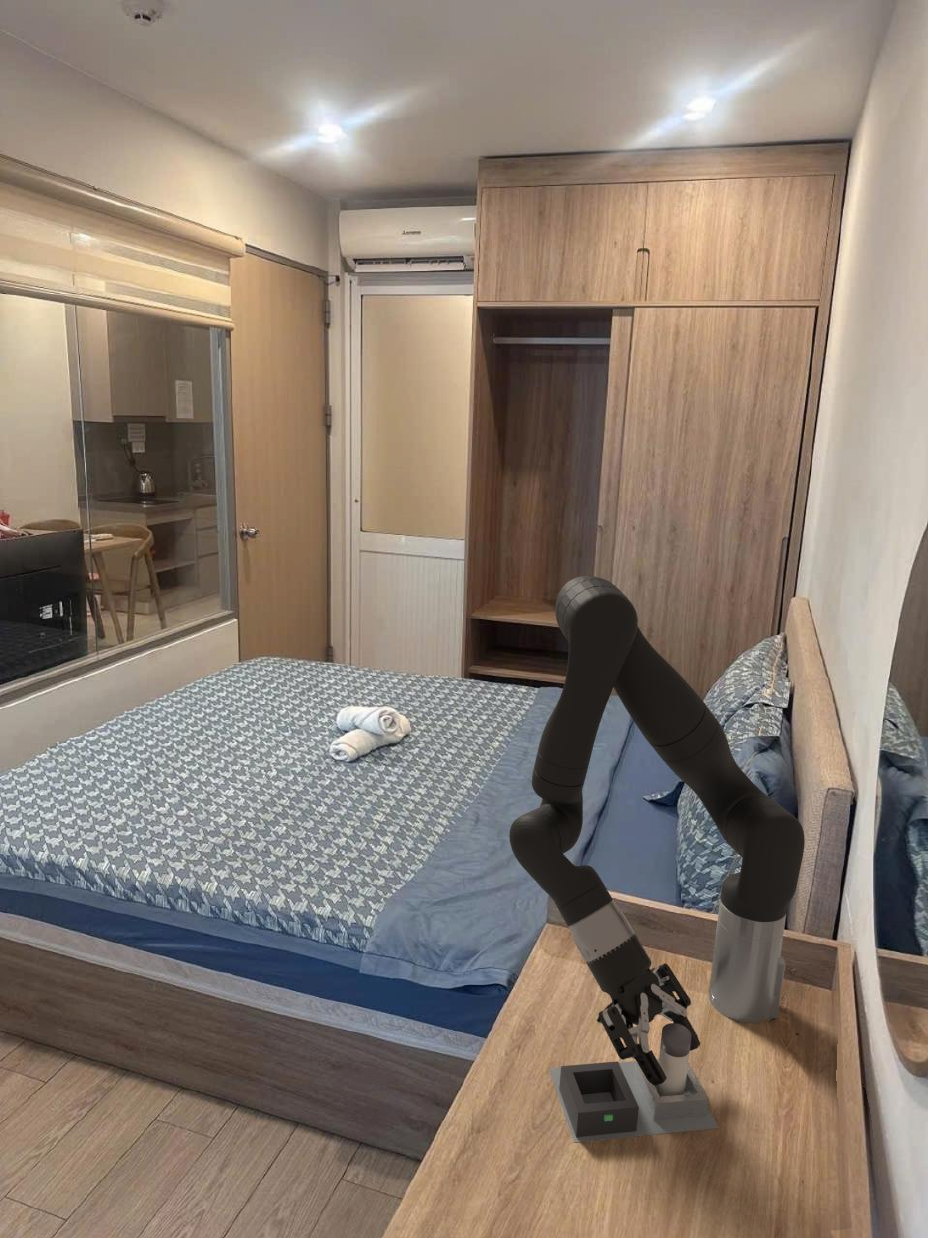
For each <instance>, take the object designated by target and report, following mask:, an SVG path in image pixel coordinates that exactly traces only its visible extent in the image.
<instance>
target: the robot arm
mask: <svg viewBox="0 0 928 1238" xmlns="http://www.w3.org/2000/svg"><path fill="white" fill-rule="evenodd" d="M554 608H555V609H554V610H555V619H556V623H557V625H558V628H559V631H561V633H562V635H563V636H564V637H565V639H566V641H568V657H567V669H566V675H565V679H564V684H563V687H562V690H561V693H560V696H559V699H558V701H556V702H557V703H556V705H554V706H555V707H554V708H553V711H552V712H551V713H550V716H549V718H548V720H547V721H546V724H545V725H544V727H543V731H542V734H541V737H540V740H539V745H538V748H537V752H536V757H535V760H534V765H533V768H532V769H533V770H532V775H531V787H532V790H533V791H534V794H536V796H538V797H540V798H541V803H540V805H539V807H536V808H535V809H532V810H530V811H528V812H526V813H524V814H522V815H519V817H517V818H516V819H514V821H513V822H512V824H511V825H510V828H509V833H508V835H509V837H508V838H509V845H510V848H511V850H512V853H513V855H514V857H515V859H516V860H517V862H518V863H519V864H520V865H521V867H522V868H523V869H524V870H525V871H526V873H527V874H528V875H529V876H530V877H531V878H532V879H533V880H534V881H535V882H536V883H537V884H538V886H539V887H540V888H541V889H542V890H543V891H544V892H545V893H546V894H547V895H548V896H549V897H550V898H551V899H552V901H553V903H554V904H555V906H556V908H557V909H558V911H559V913H560V916H561V917H562V918H563V920H564V922H565V924H566V926H567V927H568V930H569V932H570V934H571V937H572V938H573V941H574V944H575V945H576V948H577V949H578V951H579V952H580V954H581V956H582V958H583V960H584V962H585V964H586V965H587V966H588V969H589V970H590V972H591V974H592V976H593V978H594V980H595V982H596V983H597V984H598V986H599V989H600V990H601V991H602V992H603V993H606V994H607V995H609V997H610V999H611V1002H612V1003H613V1006H611V1007H610V1008H607V1009H605V1008H604V1009H605V1010H604V1009H603V1010H601V1011H599V1012H598V1017H599V1018H600V1020H601V1022H602V1023H601V1024H602V1026H603V1028H604V1030H605V1032H606V1035H607V1036H608V1038H609V1040H610V1042H611V1044H612V1046H613V1048H614V1050H615V1052H616V1054H617V1056H618V1057H619V1059H620V1060H628V1059H630V1058H633V1059H634V1060H635V1061H637V1063H638V1065H639V1066H640V1068H641V1070H642V1072H643V1073H644V1075H645V1077H646V1079H647V1080H648V1081H649V1082H650V1083H651V1084H652V1085H654V1086H655V1085H659V1084H662V1083H663V1082H664V1081H665V1080H666V1079H667V1077H666V1075H665V1073H664V1071H663V1070H662V1068H661V1066H660V1064H659V1063H658V1061H657V1059H658V1058H657V1057H656V1055H655V1053H654V1052H653V1051H652V1050H651V1049H650V1046H649V1033H650V1030H651V1029H650V1023H652V1022H653V1020H654V1019H655V1017H656V1016H657V1015H658V1016H662V1017H664V1018H665V1019H666V1020H668V1021H670V1022H672V1023H676V1024H680V1025H682V1026H684V1027H686V1028H687V1029H688V1030H689V1031H690V1033H691V1044H690V1052H691V1051H694V1050H697V1049H698V1048H699V1047H700V1046H701V1041H700V1040H699V1035H698V1034H697V1031H695V1029H694V1027H693V1026H692V1024H691V1022H690V1020H689V1018H688V1017H687V1015H688V1011H687V1009H688V1007H689V1006H691V1005H692V1001H691V998H690V996H689V995H688V994H687V992H686V991H685V989H684V988H683V986H682V984H681V983H680V982H679V979H678V978H677V976H676V975H675V974H674V972H673V970H672V969H671V968H670V966H669V964H668V963H663V964H660V965H657V966H655V967H652V968H653V969H652V968H650V967H651V966H652V960H651V958H650V957H649V954H648V953H647V951H646V950H645V948H644V947H643V945H642V943H641V941H640V940H639V937H638V936H637V934H636V933H635V931H634V929H633V928H632V926H631V924H630V923H629V921H628V919H627V917H626V916H625V914H624V913H623V911H622V910H621V909H620V907H619V906H618V904H616V902H615V900H614V899H613V897H612V895H611V894H610V892H609V890H608V888H607V887H606V885H605V884H604V882H603V880H602V879H601V877H600V875H599V874H598V872H597V871H596V869H595V868H593V867H592V866H590V865H588V864H584V865H575V864H573V863H572V861H570V860H569V858H567V856H566V855H565V853H567V852H569V851H571V849H573V848H574V846H575V845H576V843H577V842H578V840H579V838H580V835H581V833H582V829H583V824H584V822H583V819H584V816H583V815H584V810H583V809H584V807H583V805H584V799H583V798H584V797H583V787H584V785H585V782H586V779H587V778H586V777H587V773H588V770H589V765H590V761H591V758H592V754H593V750H594V745H595V741H596V739H597V734H598V731H599V729H600V728H599V727H600V724H601V720H602V718H603V716H604V713H605V710H606V707H607V705H608V702H609V700H610V697H611V693H612V691H613V689H614V691H615V692H616V694H617V696H618V698H619V699H620V701H621V703H622V704H623V706H624V708H625V710H626V711H627V713H628V714H629V716H630V717H631V719H632V721H633V722H634V724H635V725H636V727H637V728H638V730H639V731H640V733H641V734H642V736H643V738H645V740H646V741H647V742H648V743H649V745H650V746H651V747H652V748H653V750H654V751H655V752H656V754H657V755H658V756H659V757H660V759H661V760H662V761H663V762H664V763H665V764H666V766H667V767H668V768H669V769H670V770H671V771H672V772H673V773H674V774H675V775H676V776H677V777H678V778H679V779H680V780H681V781H682V782H683V783H684V784H685V785H687V787H688V788H690V789H691V790H692V791H693V793H694V794H695V795H696V796H697V797H698V799H699V800H700V801H701V804H702V805H703V806H704V808H705V810H706V811H707V813H708V814H709V816H710V818H711V820H712V821H713V823H714V825H715V826H716V828H717V830H718V831H719V833H720V835H721V837H722V839H724V841H725V842H726V843H727V845H729V847H731V849H732V850H733V851H735V852H736V853H737V854H738V855H739V857H741V864H740V870H739V872H736V873H732V874H729V875H728V876H726V877H725V878H724V880H723V881H722V884H721V889H720V898H719V904H718V905H719V906H718V912H717V913H718V914H717V920H716V921H717V922H716V928H715V929H716V931H715V938H714V939H715V940H714V946H713V956H712V962H711V969H710V971H711V973H710V979H709V987H708V1000H709V1003H710V1004H711V1005H712V1007H713V1008H714V1009H715V1010H716V1011H717V1012H718V1013H720V1014H721V1015H723V1016H724V1017H726V1018H728V1019H730V1020H733V1021H736V1022H741V1023H744V1024H745V1023H746V1024H759V1023H762V1022H765V1021H766V1022H768V1023H769V1022H770V1021H771V1020H772V1019H778V1018H779V1010H780V1003H781V998H782V991H783V982H784V976H785V969H786V959H784V958H783V956H782V955H781V954H782V947H783V940H784V933H785V926H786V918H787V911H788V906H789V904H790V903H791V901H792V899H794V898H793V897H794V896H795V894H796V890H797V887H798V883H799V876H800V872H801V868H802V863H803V858H804V853H805V842H806V841H805V831H804V828H803V825H802V823H801V822H800V821H799V819H797V818H796V816H794V815H793V814H792V813H791V812H789V811H788V810H787V809H785V808H784V807H783V806H782V805H780V804H779V803H778V802H776V801H775V800H774V799H773V798H772V797H770V796H769V795H767V794H766V793H765V792H764V791H763V790H761V789H760V788H759V786H757V785H756V784H755V783H754V782H753V781H752V780H751V779H750V778H749V777H748V776H747V774H746V773H745V772H744V771H743V770H742V769H741V767H740V766H739V765H738V764H737V762H736V761H735V759H734V757H733V754H732V750H731V747H730V744H729V741H728V737H727V735H726V732H725V731H724V729H723V728H722V725H721V724H720V722H719V721H718V719H717V718H716V716H715V715H714V714H713V712H712V711H711V709H710V708H709V707H708V705H706V703H705V701H704V700H703V699H702V698H701V697H700V695H699V694H698V693H697V692H696V691H695V690H694V688H693V687H692V686H691V685H690V683H688V682H687V681H686V680H685V678H683V676H682V675H681V674H680V673H679V672H678V671H677V670H676V669H675V668H674V667H673V666H672V665H671V664H670V663H669V662H668V661H667V660H665V658H663V656H662V655H661V654H659V652H658V651H657V650H656V649H655V648H654V647H653V646H652V644H651V643H650V642H649V641H648V639H647V638H646V637H645V635H644V634H643V632H642V631H641V629H640V627H639V626H638V622H639V618H638V615H637V610H636V608H635V606H634V605H633V603H632V601H631V600H630V599H629V598H628V597H627V596H626V595H625V594H624V592H622V591H621V589H619V588H618V587H617V586H616V585H615V584H613V583H612V582H611V581H609V580H606V578H605V579H604V578H602V577H599V576H593V575H582V576H577V577H575V578H572V579H570V580H569V581H567V582H566V583H565V584H564V585H563V586H562V588H561V589H560V591H559V592H558V594H557V597H556V601H555V607H554ZM651 969H652V970H651ZM674 992H675V993H674ZM675 994H676V995H677V996H676V995H675ZM677 997H678V998H677ZM634 1025H635V1026H634ZM623 1042H624V1043H623Z"/></svg>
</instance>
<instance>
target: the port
mask: <svg viewBox="0 0 928 1238" xmlns="http://www.w3.org/2000/svg"><path fill="white" fill-rule="evenodd" d="M619 1063H620V1062H619V1061H618V1060H617V1061H606V1062H595V1063H593V1062H592V1063H584V1064H583V1063H582V1064H581V1063H580V1064H572V1065H561V1066H560V1068H561V1073H560V1086H559V1090H560V1093H561V1096H562V1099H563V1102H564V1104H565V1107H566V1110H567V1113H568V1116H569V1119H570V1122H571V1124H572V1127H573V1130H574V1133H575V1136H576V1137H584V1136H594V1135H604V1134H614V1133H624V1132H634V1131H636V1130H637V1120H638V1111H639V1106H638V1104H637V1102H636V1100H635V1097H634V1095H633V1093H632V1091H631V1089H630V1087H629V1084H628V1082H627V1080H626V1078H625V1076H624V1073H623V1071H622V1069H621V1067H620V1065H619ZM606 1092H610V1094H611V1096H612V1098H613V1102H602V1103H592V1104H585V1103H584V1101H583V1098H582V1095H584V1094H595V1093H606Z"/></svg>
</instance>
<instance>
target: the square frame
mask: <svg viewBox="0 0 928 1238" xmlns="http://www.w3.org/2000/svg"><path fill="white" fill-rule="evenodd" d="M657 1061H658V1062H659V1060H657ZM634 1080H635V1082H636V1085H637V1087H638V1089H639V1091H640V1093H641V1095H642V1097H643V1099H644V1102H645V1104H646V1106H647V1108H648V1110H649V1112H650V1114H651V1117H652V1119H653V1121H656V1120H666V1119H676V1118H686V1117H696V1116H707V1109H709V1102H710V1101H709V1100H710V1099H709V1096H708V1095H707V1093H706V1091H705V1089H704V1087H703V1086H702V1084H701V1081H700V1080H699V1079H698V1077H697V1075H696V1073H695V1072H694V1070H693V1068H692V1066H691V1065H690V1062H688V1069H687V1077H686V1085H685V1091H686V1093H687V1094H684V1095H673V1096H662V1097H660V1096H659V1094H658V1092H657V1090H656V1088H655V1086H654V1085H652V1084H651V1083H650V1082H649V1081H648V1080H647V1079H646V1077H645V1075H644V1073H643V1072H642V1070H641V1068H640V1066H639V1065H638V1063H637V1062H635V1071H634Z"/></svg>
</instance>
